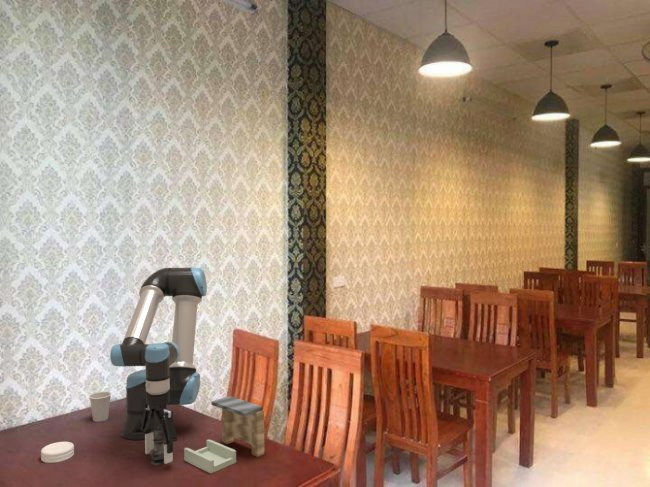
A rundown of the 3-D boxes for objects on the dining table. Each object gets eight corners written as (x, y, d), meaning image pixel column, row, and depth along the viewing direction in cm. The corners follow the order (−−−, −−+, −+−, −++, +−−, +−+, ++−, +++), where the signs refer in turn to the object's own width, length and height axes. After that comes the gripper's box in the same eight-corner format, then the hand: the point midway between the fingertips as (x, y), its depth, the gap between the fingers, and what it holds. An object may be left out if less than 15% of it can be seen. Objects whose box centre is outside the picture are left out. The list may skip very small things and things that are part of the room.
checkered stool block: (211, 446, 183) (210, 401, 183) (228, 439, 189) (228, 395, 189) (246, 461, 171) (245, 413, 170) (264, 453, 177) (263, 407, 176)
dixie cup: (84, 421, 208) (84, 397, 207) (99, 414, 216) (99, 390, 215) (101, 423, 205) (101, 398, 205) (116, 416, 213) (115, 392, 213)
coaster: (80, 454, 177) (80, 444, 177) (52, 466, 169) (52, 455, 169) (62, 448, 182) (62, 438, 182) (34, 459, 174) (34, 449, 174)
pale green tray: (184, 460, 172) (184, 448, 172) (209, 450, 180) (209, 439, 180) (210, 473, 163) (210, 461, 162) (236, 462, 170) (236, 450, 170)
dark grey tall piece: (162, 466, 168) (161, 429, 167) (146, 464, 169) (145, 428, 169) (171, 458, 174) (170, 423, 173) (155, 457, 175) (154, 422, 174)
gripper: (129, 387, 175) (130, 451, 176) (167, 401, 160) (168, 471, 161) (149, 382, 181) (150, 444, 182) (188, 395, 166) (189, 463, 166)
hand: (158, 457), depth 171 cm, fingers open, 11 cm apart
